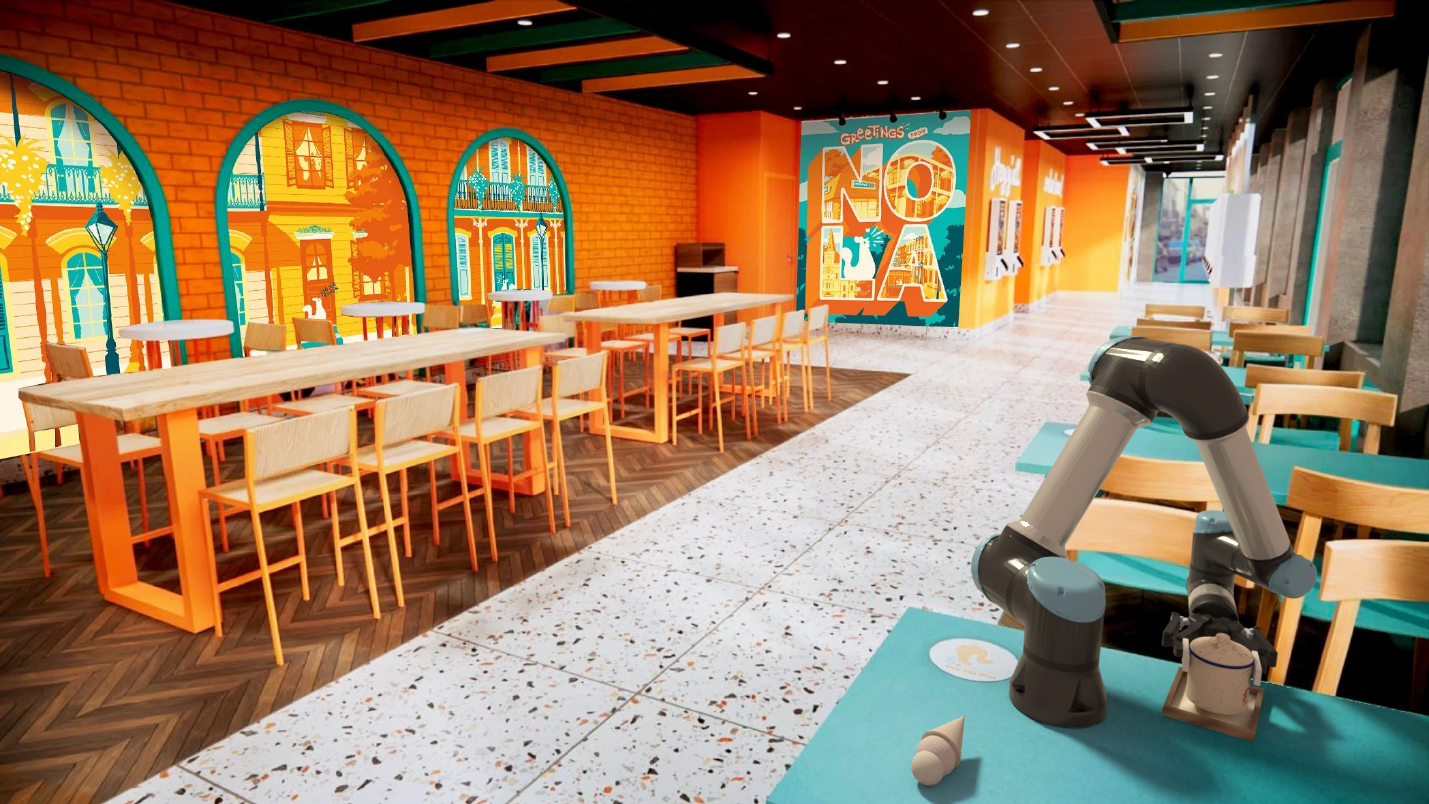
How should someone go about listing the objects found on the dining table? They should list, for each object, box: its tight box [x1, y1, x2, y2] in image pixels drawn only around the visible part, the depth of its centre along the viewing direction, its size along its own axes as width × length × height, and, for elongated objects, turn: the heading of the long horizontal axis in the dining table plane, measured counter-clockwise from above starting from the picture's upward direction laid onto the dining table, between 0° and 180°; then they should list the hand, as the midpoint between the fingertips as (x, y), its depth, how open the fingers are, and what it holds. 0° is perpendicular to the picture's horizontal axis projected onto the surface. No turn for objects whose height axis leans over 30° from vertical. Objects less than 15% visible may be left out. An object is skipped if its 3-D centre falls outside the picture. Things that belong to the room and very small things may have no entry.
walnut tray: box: [1161, 666, 1265, 743], centre depth 138 cm, size 13×16×2 cm
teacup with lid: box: [1186, 633, 1255, 715], centre depth 137 cm, size 12×9×12 cm
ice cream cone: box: [910, 715, 966, 786], centre depth 123 cm, size 6×6×15 cm
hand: (1221, 670), depth 132 cm, fingers closed on teacup with lid, 9 cm apart
